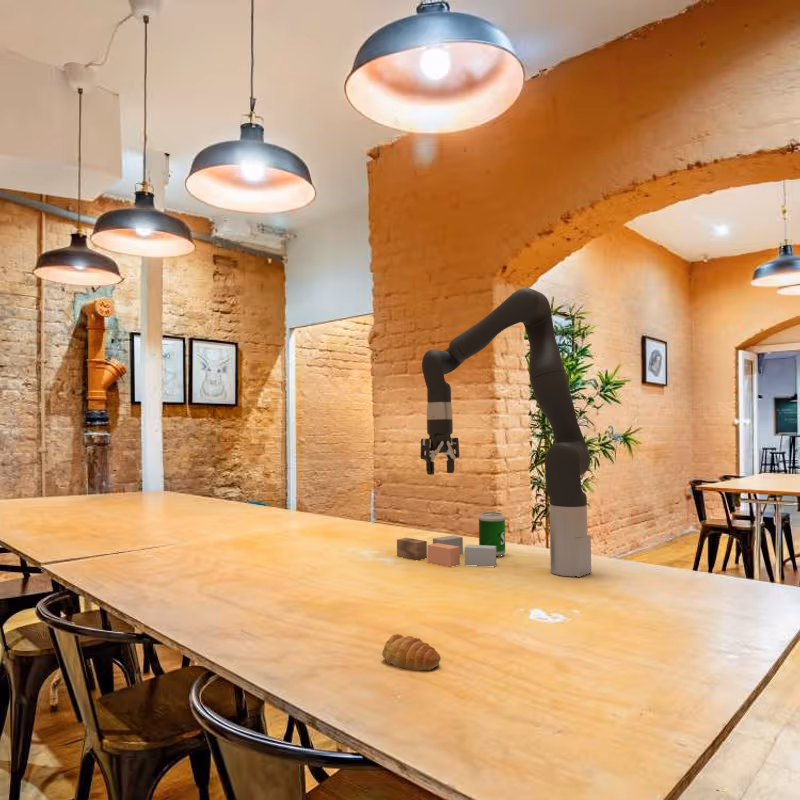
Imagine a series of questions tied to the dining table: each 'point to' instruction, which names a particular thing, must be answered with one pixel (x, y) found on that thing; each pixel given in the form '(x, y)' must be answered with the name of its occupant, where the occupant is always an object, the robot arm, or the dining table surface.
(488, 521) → the soda can
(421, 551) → the walnut brick
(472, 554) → the blue-grey brick
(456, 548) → the terracotta brick
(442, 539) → the slate brick
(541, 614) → the dining table surface
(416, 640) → the pastry
